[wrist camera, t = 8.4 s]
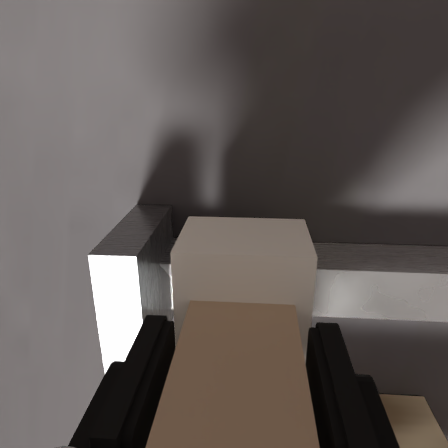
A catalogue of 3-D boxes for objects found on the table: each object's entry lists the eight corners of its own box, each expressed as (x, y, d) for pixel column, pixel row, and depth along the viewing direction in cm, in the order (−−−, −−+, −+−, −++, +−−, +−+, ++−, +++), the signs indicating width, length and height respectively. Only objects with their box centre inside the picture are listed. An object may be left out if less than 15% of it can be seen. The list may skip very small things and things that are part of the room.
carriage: (304, 219, 13) (392, 474, 5) (293, 361, 15) (339, 714, 7) (188, 216, 13) (70, 451, 5) (193, 355, 15) (118, 686, 7)
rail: (671, 217, 15) (868, 281, 10) (623, 326, 16) (770, 424, 12) (136, 204, 16) (87, 255, 11) (145, 305, 18) (106, 384, 13)
